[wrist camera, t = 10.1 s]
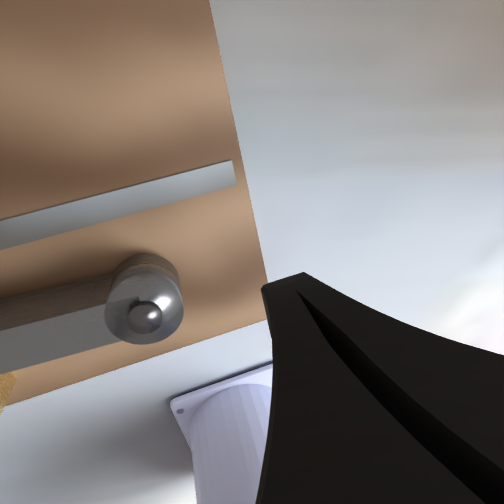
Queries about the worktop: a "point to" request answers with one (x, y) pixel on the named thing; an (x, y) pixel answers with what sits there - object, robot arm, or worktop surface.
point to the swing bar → (92, 313)
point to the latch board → (122, 167)
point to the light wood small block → (6, 388)
